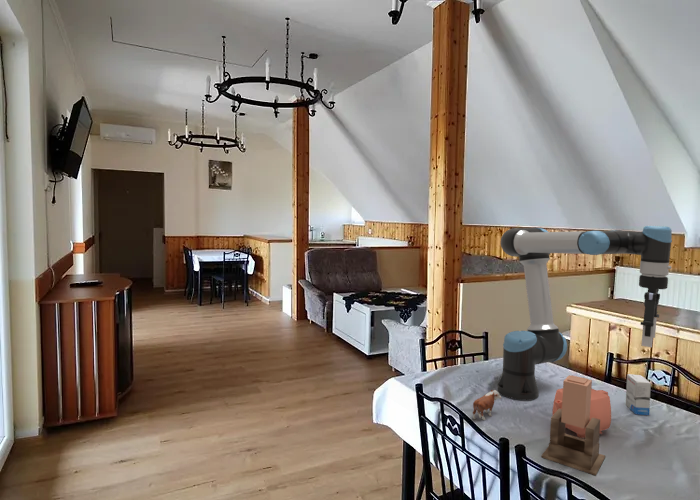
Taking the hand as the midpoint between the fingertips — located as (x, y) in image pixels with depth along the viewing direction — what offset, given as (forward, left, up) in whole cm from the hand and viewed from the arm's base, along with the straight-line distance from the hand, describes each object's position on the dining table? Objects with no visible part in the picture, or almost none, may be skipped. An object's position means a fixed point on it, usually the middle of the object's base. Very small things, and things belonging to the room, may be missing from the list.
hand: (648, 341), depth 145 cm
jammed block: (-13, -32, -19) cm, 40 cm away
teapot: (-16, -12, -30) cm, 36 cm away
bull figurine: (-43, -23, -30) cm, 57 cm away
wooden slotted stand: (-13, -32, -29) cm, 46 cm away
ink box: (-4, +18, -30) cm, 35 cm away
